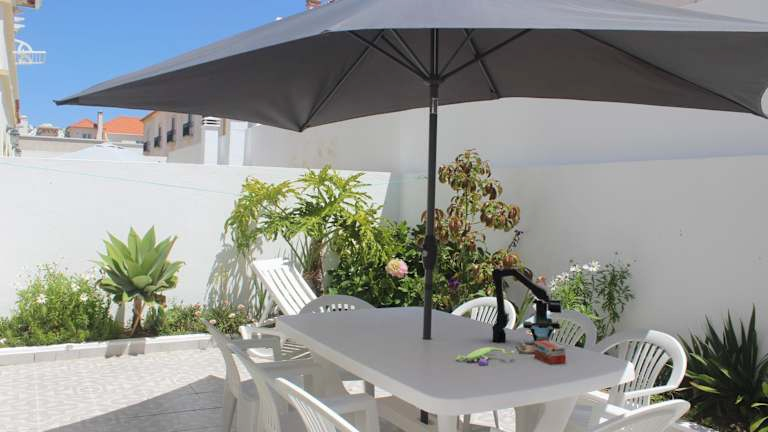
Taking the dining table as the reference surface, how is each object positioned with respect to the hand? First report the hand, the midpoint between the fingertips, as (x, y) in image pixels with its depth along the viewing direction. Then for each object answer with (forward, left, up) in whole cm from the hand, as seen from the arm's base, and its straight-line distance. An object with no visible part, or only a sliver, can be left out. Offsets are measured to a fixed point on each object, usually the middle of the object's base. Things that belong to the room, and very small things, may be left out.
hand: (541, 341), depth 353 cm
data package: (+4, +21, -2) cm, 21 cm away
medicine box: (-1, -37, -2) cm, 37 cm away
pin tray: (-6, -17, -2) cm, 18 cm away
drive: (0, 0, -2) cm, 2 cm away
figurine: (-31, -39, -2) cm, 50 cm away
